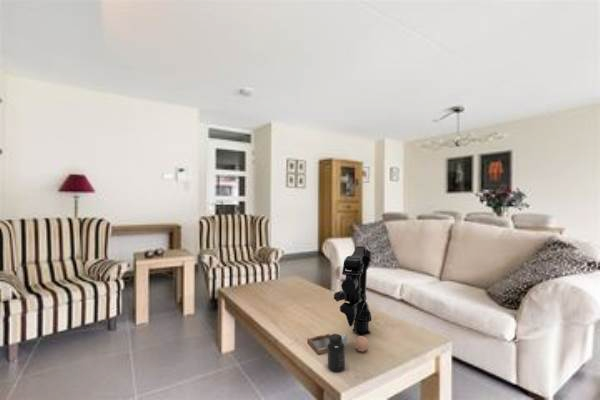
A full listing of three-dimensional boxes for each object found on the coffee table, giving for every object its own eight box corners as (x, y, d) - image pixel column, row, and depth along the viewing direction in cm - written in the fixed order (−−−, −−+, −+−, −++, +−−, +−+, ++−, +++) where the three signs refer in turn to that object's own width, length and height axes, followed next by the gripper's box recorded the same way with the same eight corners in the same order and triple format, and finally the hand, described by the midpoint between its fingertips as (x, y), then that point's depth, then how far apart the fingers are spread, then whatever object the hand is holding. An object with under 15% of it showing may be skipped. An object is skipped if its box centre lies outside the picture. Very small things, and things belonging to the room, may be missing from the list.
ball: (362, 345, 125) (362, 332, 125) (371, 352, 120) (371, 338, 120) (351, 348, 123) (351, 335, 123) (359, 355, 117) (359, 341, 117)
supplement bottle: (343, 361, 113) (342, 332, 113) (346, 372, 106) (346, 340, 106) (326, 362, 113) (326, 332, 113) (328, 372, 106) (328, 341, 106)
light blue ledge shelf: (343, 341, 129) (343, 334, 129) (348, 342, 128) (347, 335, 128) (328, 358, 115) (328, 350, 115) (333, 360, 114) (333, 352, 114)
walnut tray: (328, 337, 133) (328, 333, 133) (341, 349, 123) (341, 344, 123) (307, 342, 128) (307, 338, 128) (318, 355, 118) (318, 350, 118)
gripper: (343, 278, 134) (344, 310, 134) (328, 289, 118) (328, 326, 118) (366, 281, 129) (367, 315, 129) (353, 294, 112) (354, 332, 112)
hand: (354, 321), depth 122 cm, fingers open, 9 cm apart
